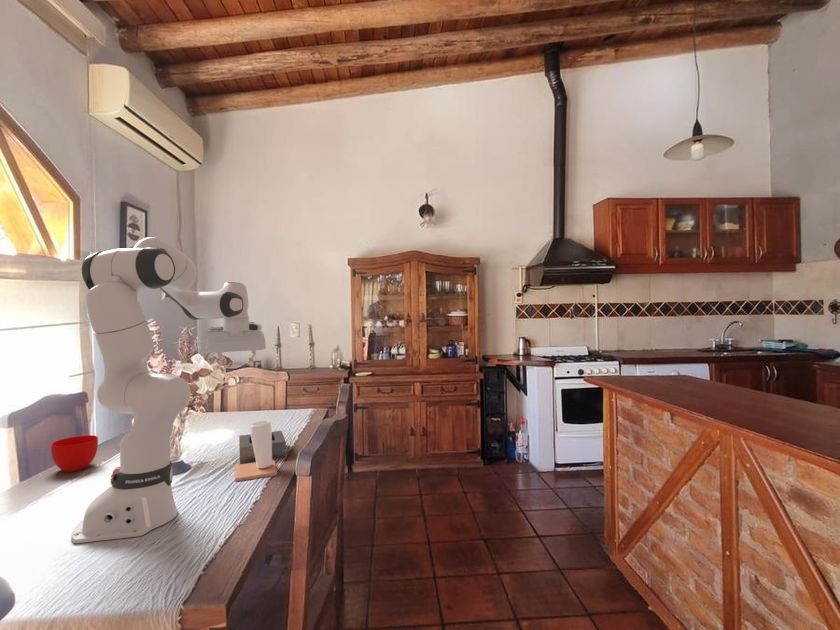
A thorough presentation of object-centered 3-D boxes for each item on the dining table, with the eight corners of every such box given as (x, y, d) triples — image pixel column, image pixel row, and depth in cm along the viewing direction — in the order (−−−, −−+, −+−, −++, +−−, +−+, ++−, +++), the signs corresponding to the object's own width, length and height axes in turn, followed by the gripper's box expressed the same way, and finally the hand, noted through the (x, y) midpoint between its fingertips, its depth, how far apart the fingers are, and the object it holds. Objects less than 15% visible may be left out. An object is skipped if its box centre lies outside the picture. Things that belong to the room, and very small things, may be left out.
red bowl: (107, 456, 162) (107, 430, 162) (90, 472, 146) (89, 443, 146) (66, 461, 157) (65, 434, 157) (43, 478, 141) (43, 448, 141)
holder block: (239, 464, 152) (239, 447, 152) (239, 450, 167) (239, 435, 167) (286, 457, 159) (285, 441, 159) (281, 445, 173) (281, 430, 173)
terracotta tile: (235, 481, 137) (235, 478, 137) (235, 467, 149) (235, 465, 149) (277, 474, 142) (277, 471, 142) (274, 462, 154) (274, 459, 154)
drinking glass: (250, 468, 145) (245, 425, 145) (265, 461, 151) (261, 420, 151) (263, 470, 142) (258, 426, 142) (279, 463, 148) (274, 421, 148)
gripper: (204, 327, 150) (205, 366, 150) (265, 325, 158) (266, 362, 158) (205, 327, 155) (206, 364, 156) (264, 324, 163) (265, 360, 164)
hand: (237, 363), depth 157 cm, fingers open, 8 cm apart
